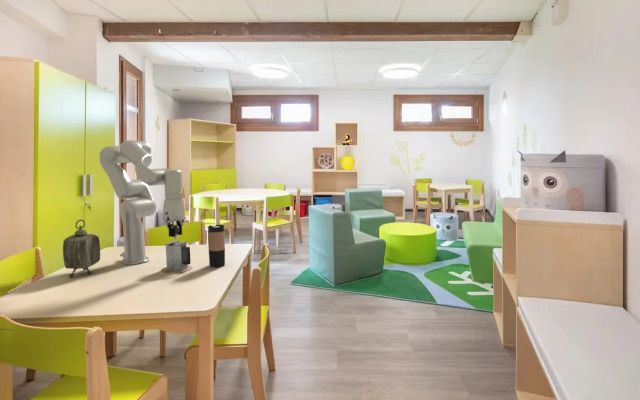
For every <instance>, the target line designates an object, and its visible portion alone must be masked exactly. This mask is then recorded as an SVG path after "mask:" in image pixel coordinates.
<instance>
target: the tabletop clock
mask: <svg viewBox="0 0 640 400" xmlns="http://www.w3.org/2000/svg"><path fill="white" fill-rule="evenodd" d="M80 222H83V225H79V226H77V225H78V223H80ZM85 225H86V223H85V220H84V219H78V220H77V221H76V222H75V226H74V227H75V228H76V229H77V230H76V231H75V232H74V234H72V235H70V236H67V237H66V238H65V239H63V242H62V258H63V264H64V267H65V269H71V270H72V269H73V270H72V272H71V273H70V274H69V275H68V276H69V278H73V277H74V274H75V272H76V271H77V270H79V269H82V270H83V271H86V274H88V275H90V274H91V273H92V271H91V270H90V269H89V268H90V267H92V266H94V265H95V264H97V263H98V262H100V260H101V243H100V239H99V236H97V235H96V234H90V233H88V232H87V231H86V230H85V229H84V228H85Z"/></svg>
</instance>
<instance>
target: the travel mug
mask: <svg viewBox="0 0 640 400" xmlns="http://www.w3.org/2000/svg"><path fill="white" fill-rule="evenodd" d="M207 233H208V234H207V235H208V236H207V237H208V238H207V239H208V241H207V242H208V245H207V246H208V260H209V261H208V263H209V264H208V265H209V267H210V268H222V267H225V265H226V241H225V225H223V224H215V225H212V224H211V225H208V226H207Z"/></svg>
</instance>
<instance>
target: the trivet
mask: <svg viewBox="0 0 640 400" xmlns="http://www.w3.org/2000/svg"><path fill="white" fill-rule="evenodd" d="M192 270H193V266H191V265H187V269H186V270H184V271H179V272H169V271H167V266H166V267H163V268H161V270H160V272H161V273H163V274H168V275H169V274H170V275H171V274H173V275H175V274H182V273H187V272H191V271H192Z"/></svg>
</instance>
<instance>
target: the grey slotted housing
mask: <svg viewBox="0 0 640 400" xmlns="http://www.w3.org/2000/svg"><path fill="white" fill-rule="evenodd" d="M187 244H188V241H179V240H177V243H176V244H175V240H173V241H170V242H166V243H164V245H165V257H166V258H165V259H166V260H165V262H166V267H167V271H169V272H179V271H184V270H186V269H187V265H188V266H190V265H191V264H192V263H191V246H187Z"/></svg>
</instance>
